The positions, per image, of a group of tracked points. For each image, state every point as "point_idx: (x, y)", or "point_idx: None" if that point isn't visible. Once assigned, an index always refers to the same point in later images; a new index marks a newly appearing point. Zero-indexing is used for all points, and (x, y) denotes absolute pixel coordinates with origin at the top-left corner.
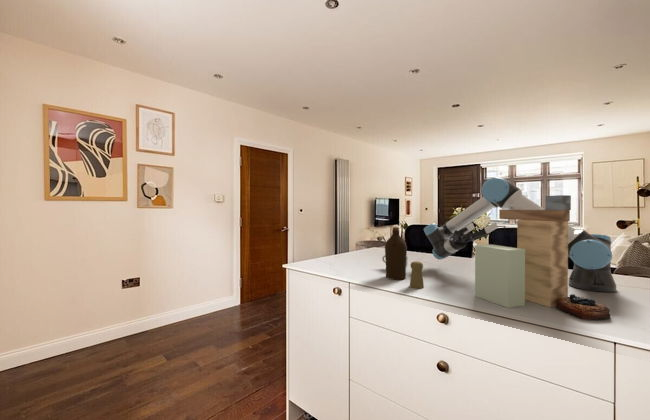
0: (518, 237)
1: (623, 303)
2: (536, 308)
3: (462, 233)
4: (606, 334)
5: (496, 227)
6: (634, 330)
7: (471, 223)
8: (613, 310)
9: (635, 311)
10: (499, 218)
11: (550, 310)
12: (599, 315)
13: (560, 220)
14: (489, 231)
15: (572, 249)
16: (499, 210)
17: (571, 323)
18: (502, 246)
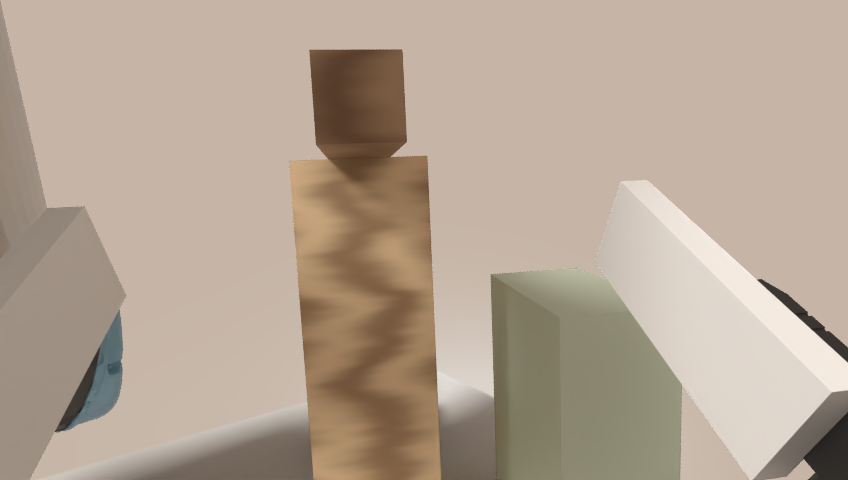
0: (430, 255)
1: (125, 476)
2: (476, 465)
3: (830, 462)
4: (453, 381)
5: (121, 295)
6: None
7: (644, 189)
8: (258, 444)
9: (211, 437)
10: (406, 138)
11: (446, 453)
12: None
13: None
14: (31, 463)
15: (120, 333)
16: (402, 59)
17: (473, 406)
18: (538, 292)
